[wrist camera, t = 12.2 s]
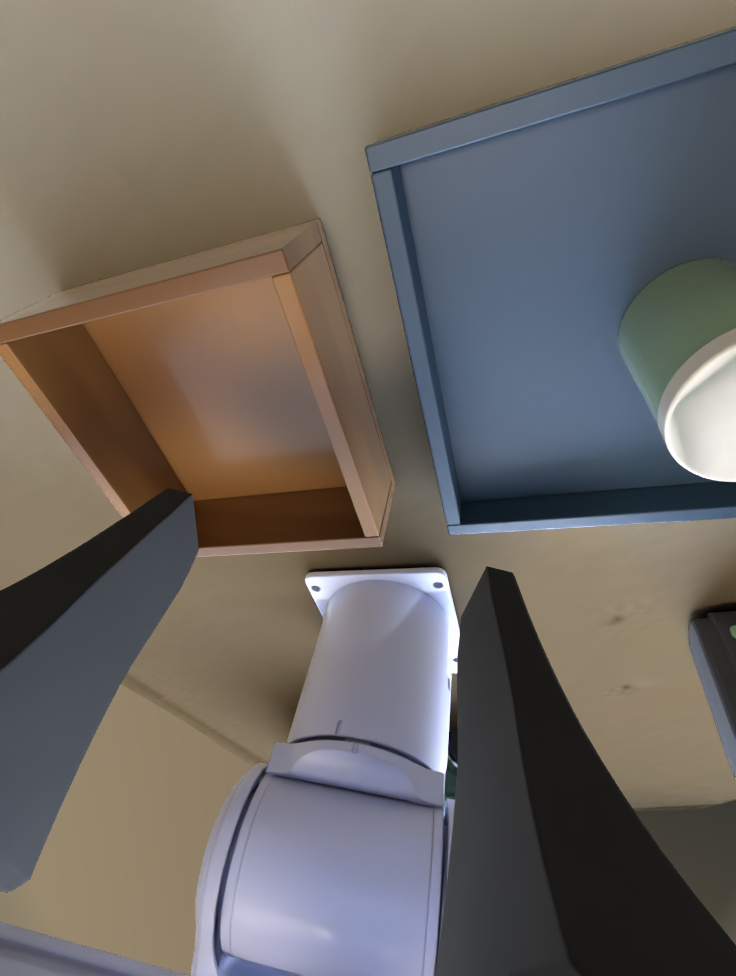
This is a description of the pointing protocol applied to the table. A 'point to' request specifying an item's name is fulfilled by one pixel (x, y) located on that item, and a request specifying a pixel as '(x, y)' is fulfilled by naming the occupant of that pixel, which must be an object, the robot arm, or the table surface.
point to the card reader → (718, 672)
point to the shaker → (688, 362)
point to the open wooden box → (218, 393)
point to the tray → (558, 284)
